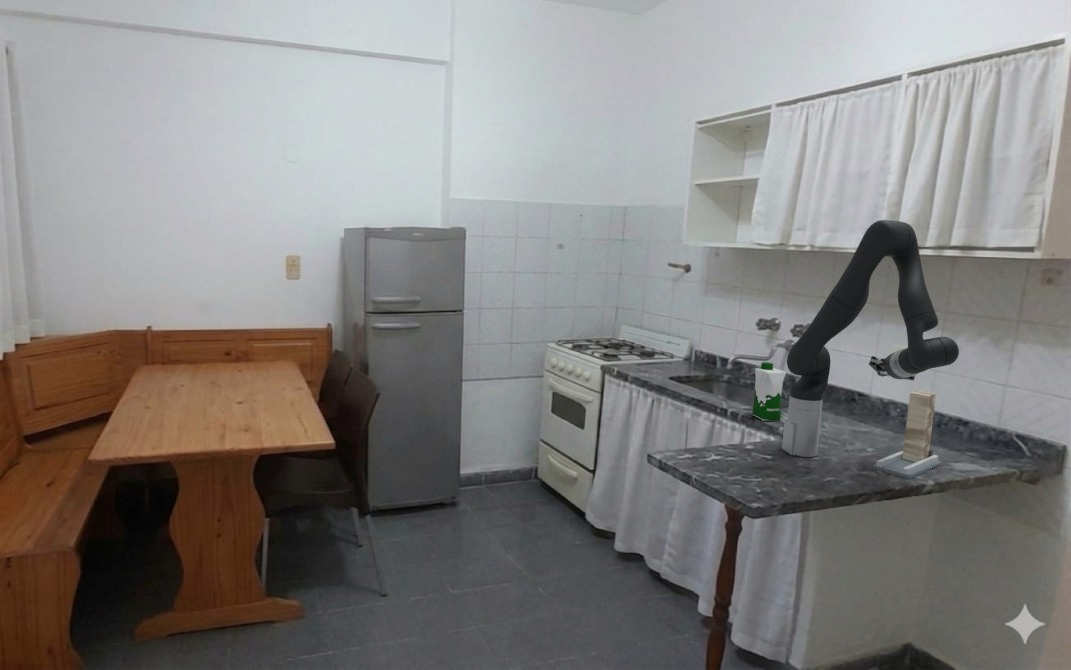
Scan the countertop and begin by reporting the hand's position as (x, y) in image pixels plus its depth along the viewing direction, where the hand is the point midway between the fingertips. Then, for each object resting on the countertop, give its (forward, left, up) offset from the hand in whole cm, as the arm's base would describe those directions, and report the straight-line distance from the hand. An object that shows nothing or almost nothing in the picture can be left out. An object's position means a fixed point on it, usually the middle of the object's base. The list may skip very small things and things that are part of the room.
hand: (880, 372), depth 192 cm
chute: (+6, -7, -26) cm, 28 cm away
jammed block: (+11, -5, -25) cm, 27 cm away
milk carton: (-15, +42, -26) cm, 52 cm away
